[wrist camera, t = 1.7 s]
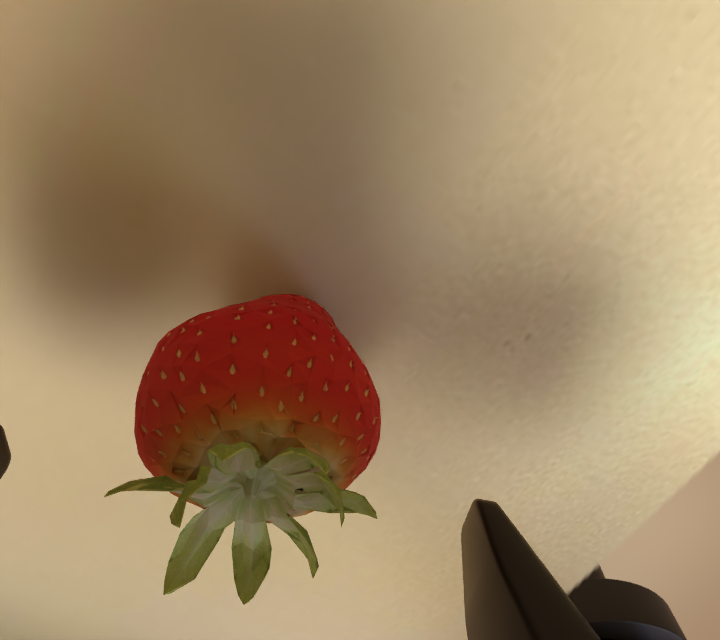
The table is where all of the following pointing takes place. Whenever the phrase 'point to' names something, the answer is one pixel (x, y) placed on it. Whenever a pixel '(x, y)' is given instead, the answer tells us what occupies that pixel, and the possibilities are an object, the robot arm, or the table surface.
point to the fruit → (254, 430)
